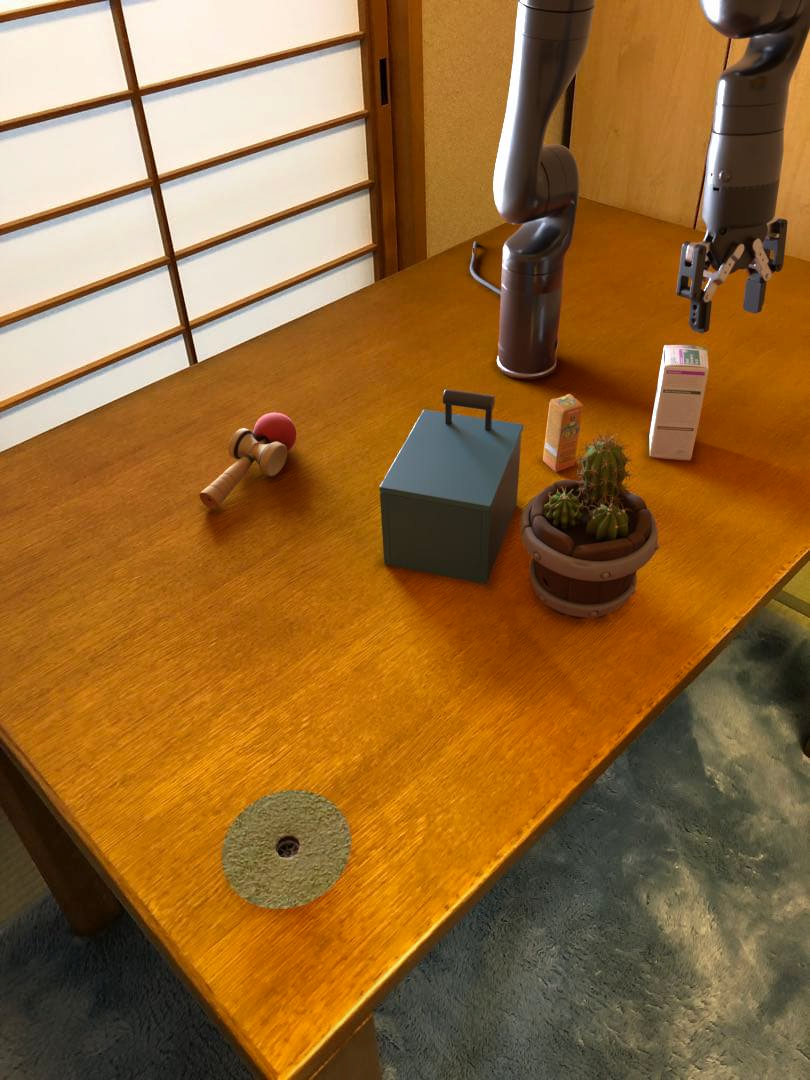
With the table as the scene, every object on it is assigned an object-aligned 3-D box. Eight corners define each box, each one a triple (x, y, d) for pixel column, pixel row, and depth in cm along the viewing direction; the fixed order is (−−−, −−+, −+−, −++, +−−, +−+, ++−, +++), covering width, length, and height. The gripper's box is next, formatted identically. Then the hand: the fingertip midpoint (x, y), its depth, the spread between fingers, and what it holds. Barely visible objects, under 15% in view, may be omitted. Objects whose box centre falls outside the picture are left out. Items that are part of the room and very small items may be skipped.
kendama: (241, 526, 114) (315, 441, 124) (222, 490, 110) (300, 404, 120) (199, 517, 118) (273, 435, 128) (179, 481, 114) (258, 399, 124)
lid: (423, 414, 111) (423, 377, 107) (523, 429, 108) (525, 391, 104) (379, 492, 99) (377, 453, 95) (490, 512, 96) (491, 472, 92)
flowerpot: (619, 656, 94) (647, 510, 81) (492, 605, 100) (498, 462, 87) (665, 575, 103) (697, 433, 90) (546, 533, 109) (560, 395, 96)
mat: (284, 947, 71) (281, 936, 70) (198, 863, 77) (194, 851, 76) (379, 851, 77) (378, 839, 76) (292, 779, 83) (290, 767, 82)
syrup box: (691, 461, 120) (712, 367, 110) (647, 457, 121) (664, 364, 111) (690, 438, 124) (709, 345, 115) (647, 434, 125) (663, 342, 116)
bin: (422, 488, 117) (421, 419, 110) (516, 504, 114) (521, 434, 107) (384, 564, 106) (379, 493, 99) (487, 585, 103) (490, 512, 96)
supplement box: (556, 474, 119) (562, 410, 112) (542, 461, 121) (547, 398, 115) (576, 466, 120) (584, 403, 113) (562, 454, 122) (568, 391, 116)
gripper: (761, 157, 99) (743, 297, 108) (666, 183, 93) (657, 328, 102) (818, 166, 93) (794, 313, 102) (721, 194, 88) (705, 347, 97)
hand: (725, 321), depth 102 cm, fingers open, 8 cm apart
